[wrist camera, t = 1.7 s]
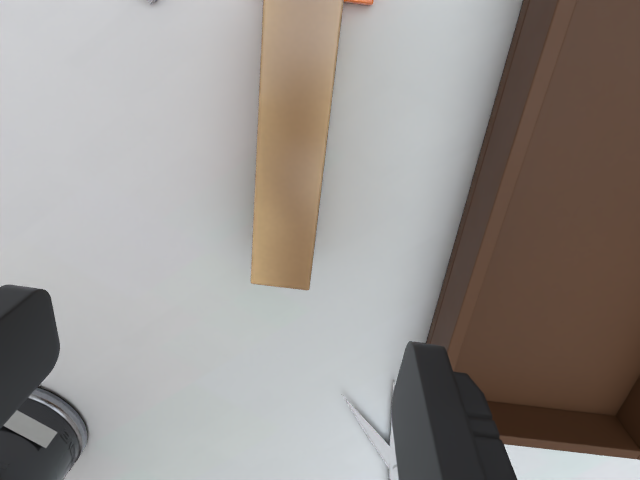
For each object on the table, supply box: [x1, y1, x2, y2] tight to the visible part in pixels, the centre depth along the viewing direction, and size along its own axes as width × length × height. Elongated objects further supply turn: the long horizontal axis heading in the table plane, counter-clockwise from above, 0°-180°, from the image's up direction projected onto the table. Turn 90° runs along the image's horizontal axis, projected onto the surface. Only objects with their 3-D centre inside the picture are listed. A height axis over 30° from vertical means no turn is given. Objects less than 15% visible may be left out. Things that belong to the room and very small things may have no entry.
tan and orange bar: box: [251, 0, 373, 290], centre depth 20 cm, size 6×22×4 cm, turn 174°
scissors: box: [342, 381, 399, 480], centre depth 34 cm, size 11×1×20 cm
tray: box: [426, 0, 640, 460], centre depth 23 cm, size 16×32×4 cm, turn 174°
